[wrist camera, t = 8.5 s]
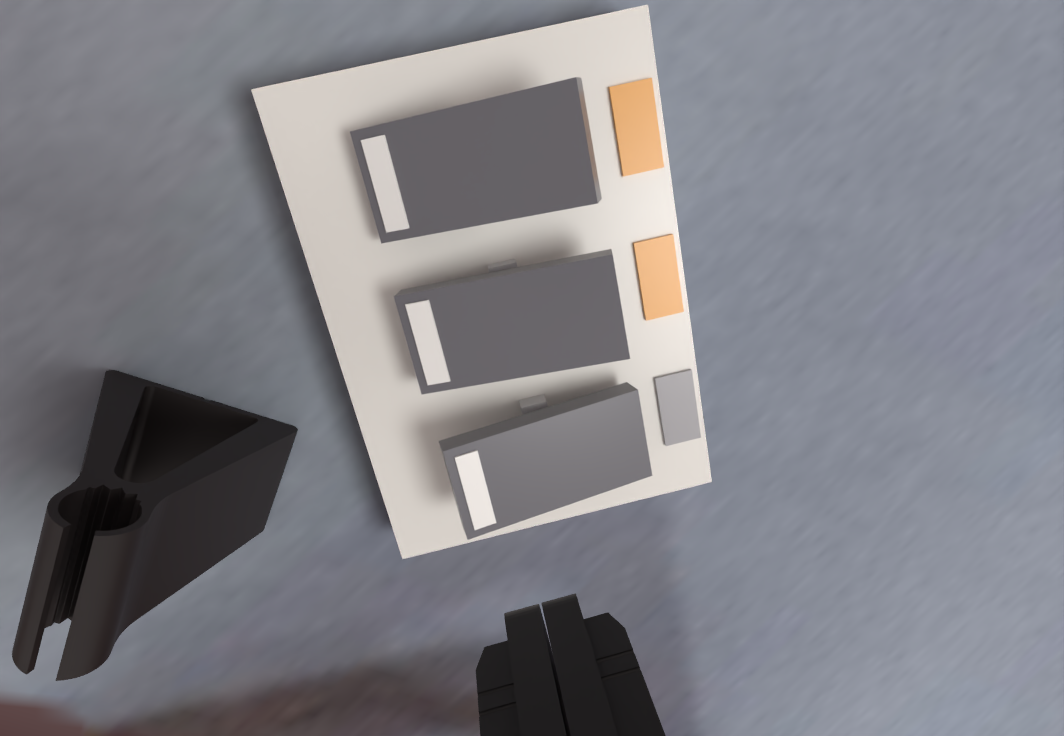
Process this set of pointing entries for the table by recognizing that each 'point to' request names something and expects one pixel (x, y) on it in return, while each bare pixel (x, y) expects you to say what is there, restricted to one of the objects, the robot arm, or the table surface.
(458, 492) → the block
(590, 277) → the block
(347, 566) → the table surface
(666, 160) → the switch unit
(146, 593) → the phone stand
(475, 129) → the rocker
